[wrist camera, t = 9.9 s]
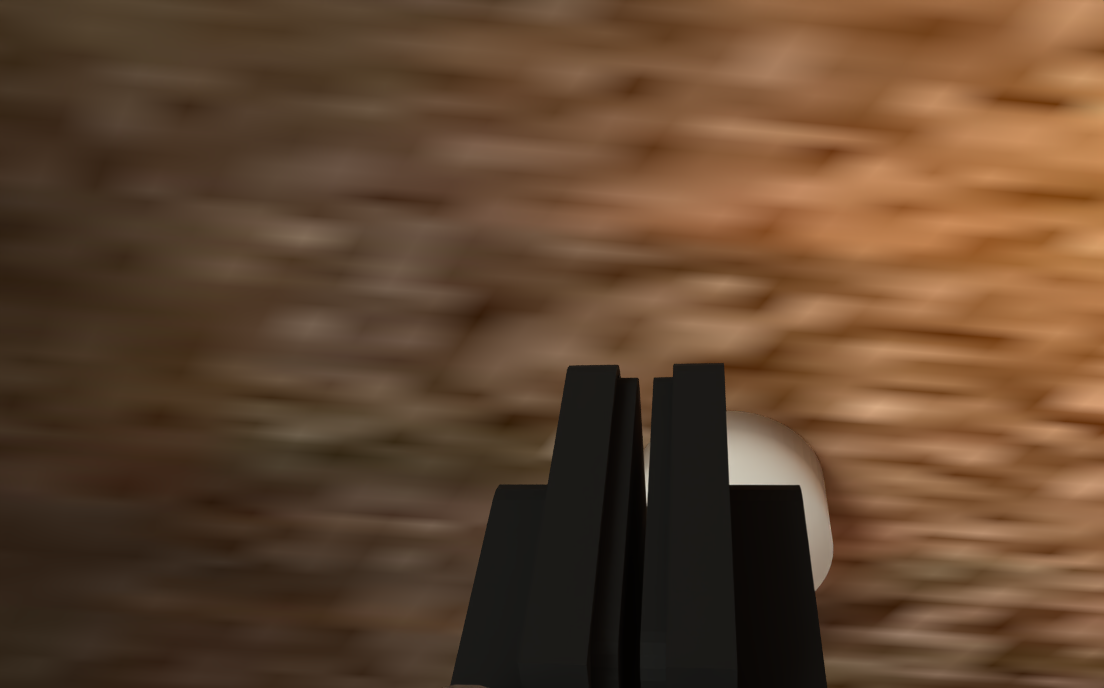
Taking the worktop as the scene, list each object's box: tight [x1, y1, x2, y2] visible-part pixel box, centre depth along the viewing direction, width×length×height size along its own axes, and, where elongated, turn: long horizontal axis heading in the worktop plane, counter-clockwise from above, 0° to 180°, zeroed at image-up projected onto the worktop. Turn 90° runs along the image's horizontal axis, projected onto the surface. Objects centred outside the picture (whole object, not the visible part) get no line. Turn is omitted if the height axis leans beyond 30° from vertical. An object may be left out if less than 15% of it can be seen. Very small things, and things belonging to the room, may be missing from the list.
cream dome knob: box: [643, 411, 833, 591], centre depth 43 cm, size 8×8×4 cm
